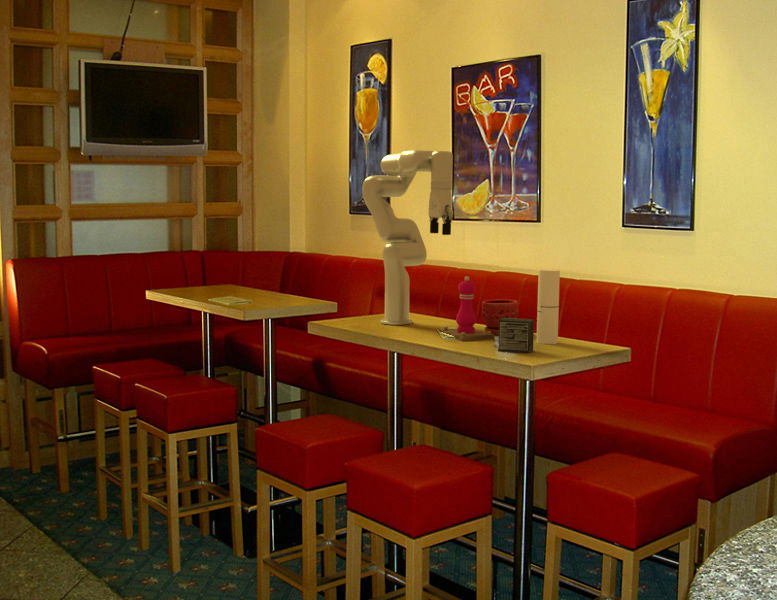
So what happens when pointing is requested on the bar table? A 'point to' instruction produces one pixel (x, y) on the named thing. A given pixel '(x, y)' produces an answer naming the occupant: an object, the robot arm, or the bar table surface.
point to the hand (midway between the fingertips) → (440, 234)
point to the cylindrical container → (548, 306)
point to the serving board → (469, 334)
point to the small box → (516, 335)
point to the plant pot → (498, 313)
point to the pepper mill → (466, 307)
